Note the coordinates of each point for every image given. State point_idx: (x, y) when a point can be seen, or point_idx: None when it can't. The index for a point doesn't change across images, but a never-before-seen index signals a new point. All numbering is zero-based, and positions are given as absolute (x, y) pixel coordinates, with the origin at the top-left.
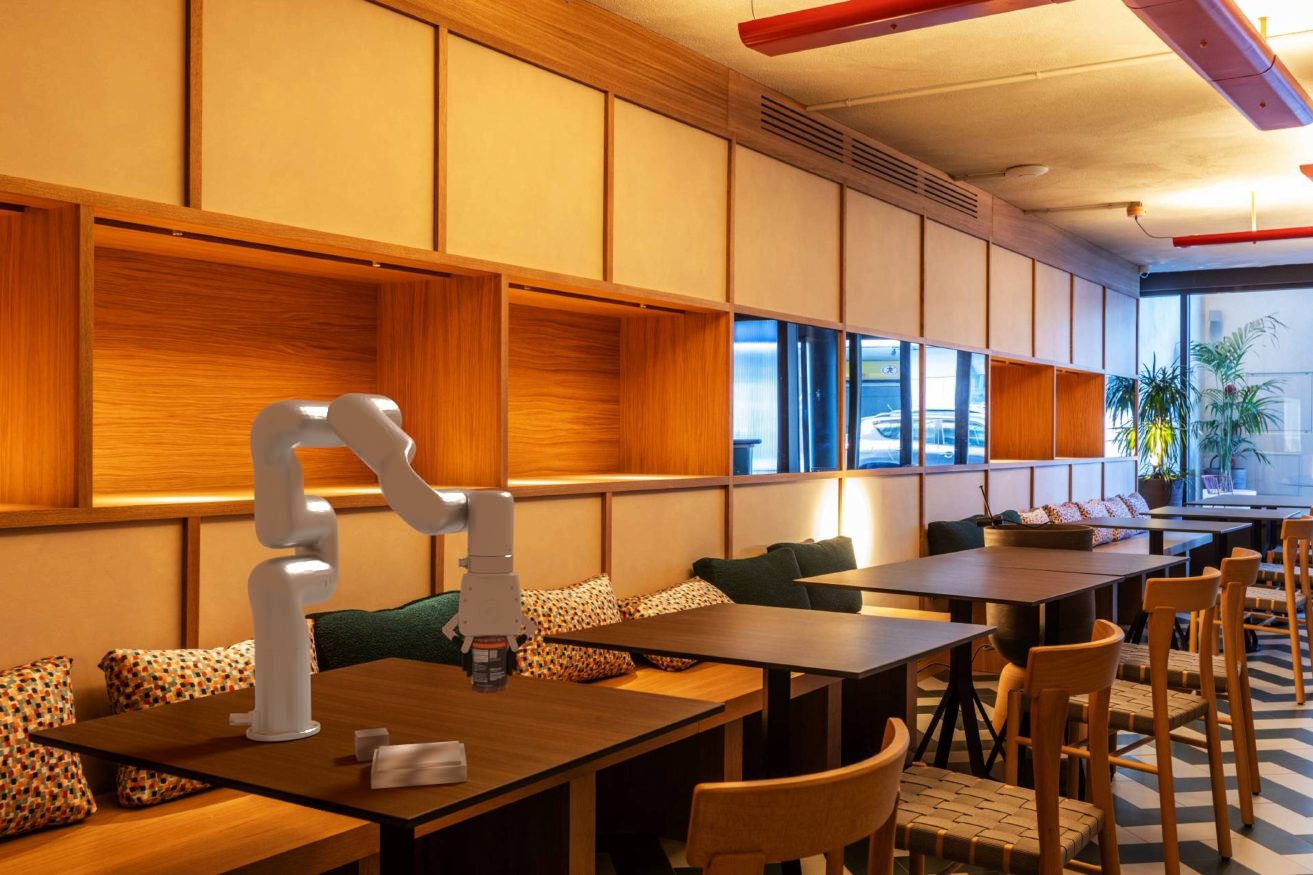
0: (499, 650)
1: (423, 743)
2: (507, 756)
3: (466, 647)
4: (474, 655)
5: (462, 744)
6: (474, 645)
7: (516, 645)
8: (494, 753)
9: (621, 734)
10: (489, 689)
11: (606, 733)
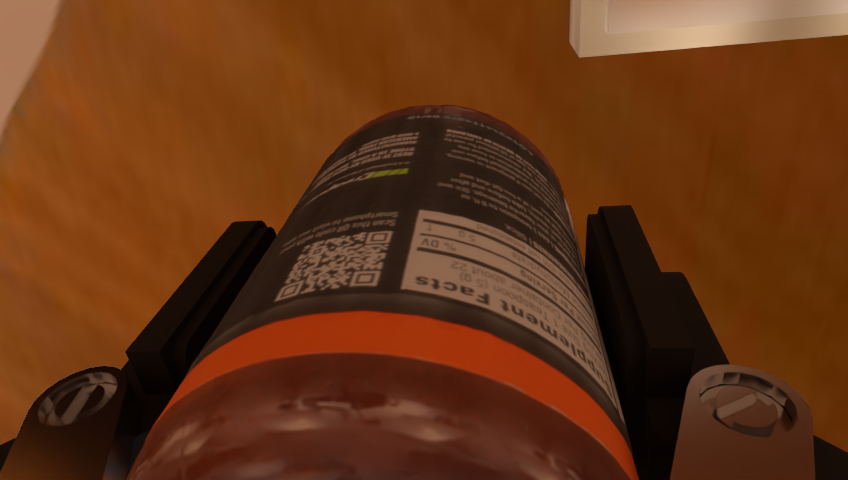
0: (246, 311)
1: (796, 16)
2: (382, 33)
3: (725, 433)
4: (589, 327)
5: (586, 30)
6: (612, 434)
7: (49, 429)
8: (439, 94)
9: (14, 262)
10: (431, 106)
11: (70, 284)
